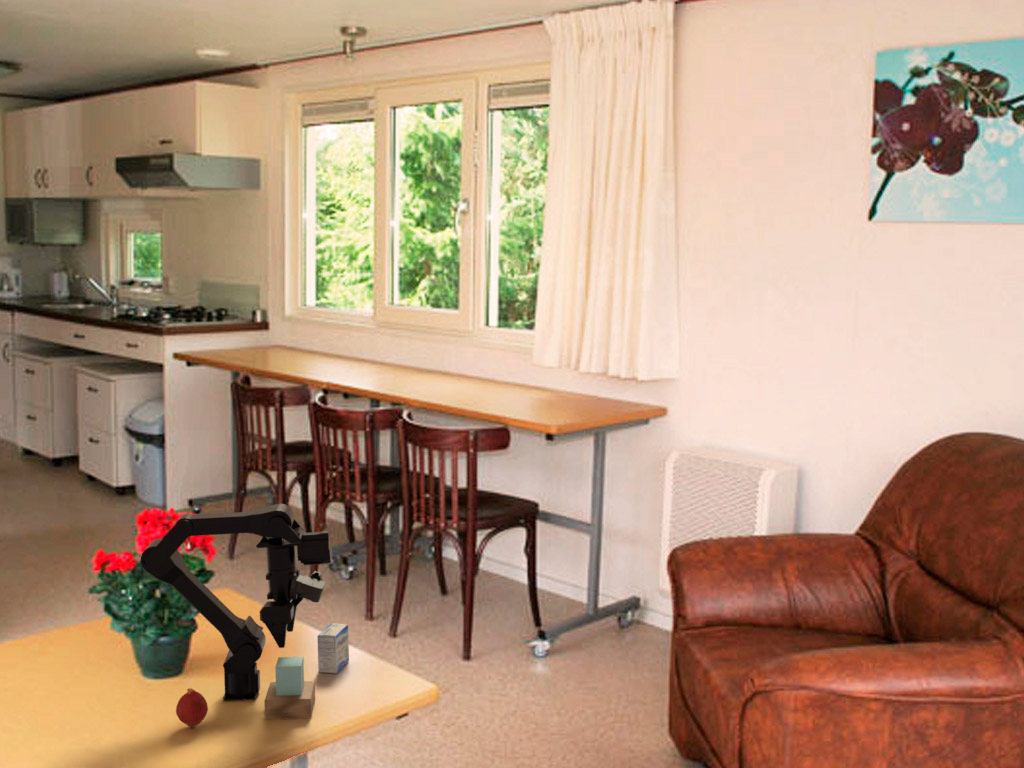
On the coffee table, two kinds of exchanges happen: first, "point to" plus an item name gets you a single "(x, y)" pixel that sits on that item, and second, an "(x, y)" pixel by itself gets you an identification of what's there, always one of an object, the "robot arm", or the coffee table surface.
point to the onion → (191, 708)
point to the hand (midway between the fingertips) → (286, 639)
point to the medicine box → (333, 648)
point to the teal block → (289, 676)
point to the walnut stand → (290, 703)
